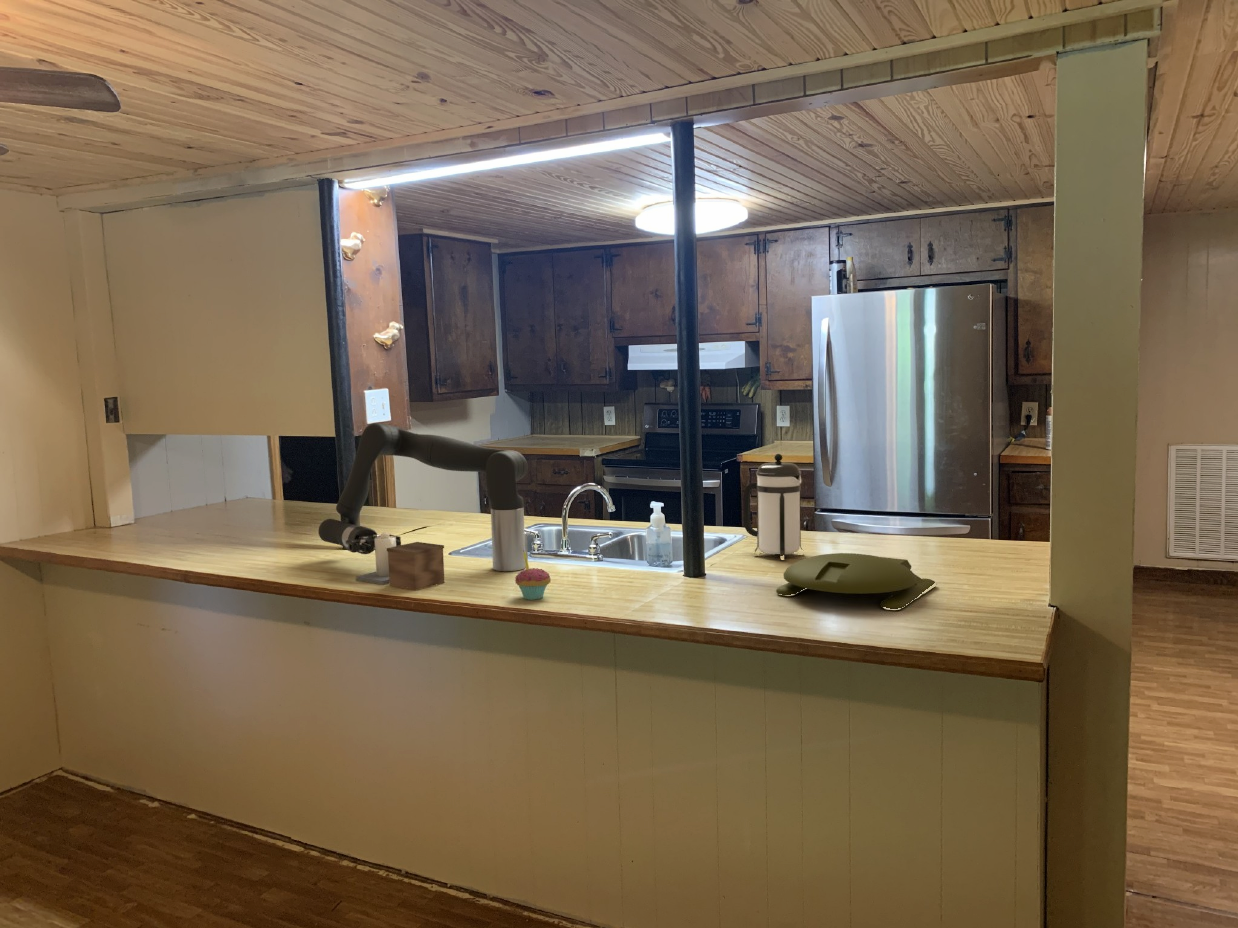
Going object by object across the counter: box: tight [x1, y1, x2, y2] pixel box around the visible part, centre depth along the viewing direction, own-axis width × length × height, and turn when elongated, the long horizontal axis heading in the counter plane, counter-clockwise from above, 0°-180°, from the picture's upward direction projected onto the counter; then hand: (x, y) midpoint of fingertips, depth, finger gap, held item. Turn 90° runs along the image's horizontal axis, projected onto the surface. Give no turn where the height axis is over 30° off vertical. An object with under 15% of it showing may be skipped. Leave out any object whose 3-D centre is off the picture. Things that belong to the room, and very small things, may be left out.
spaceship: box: [775, 552, 935, 609], centre depth 215 cm, size 35×31×10 cm
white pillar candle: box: [374, 531, 396, 577], centre depth 243 cm, size 6×6×12 cm
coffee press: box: [742, 453, 803, 557], centre depth 260 cm, size 17×16×30 cm
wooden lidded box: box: [387, 541, 445, 591], centre depth 235 cm, size 10×10×10 cm
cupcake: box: [514, 549, 552, 601], centre depth 218 cm, size 9×8×12 cm
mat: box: [355, 571, 389, 585], centre depth 244 cm, size 12×11×1 cm
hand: (384, 546), depth 243 cm, fingers open, 8 cm apart
